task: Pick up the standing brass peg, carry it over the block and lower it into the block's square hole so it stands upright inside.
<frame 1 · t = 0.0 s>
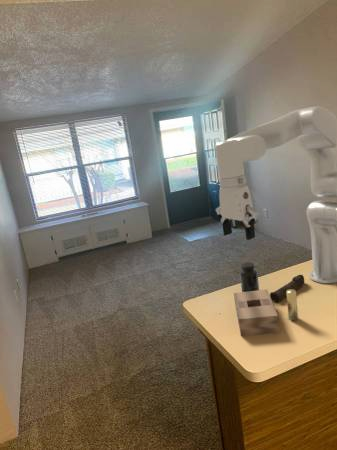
hand: (239, 236, 103), 31 cm above the table, tool pointing down, fingers open, 9 cm apart
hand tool: (288, 292, 128), on the table
peg: (293, 318, 110), on the table
supplement bottle: (250, 292, 132), on the table
hole block: (255, 319, 113), on the table
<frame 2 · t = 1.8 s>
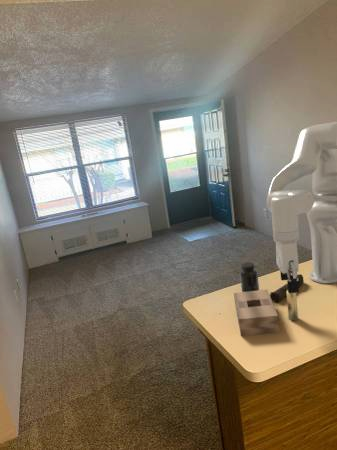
hand: (289, 285, 106), 12 cm above the table, tool pointing down, fingers open, 9 cm apart
nothing on the table moved.
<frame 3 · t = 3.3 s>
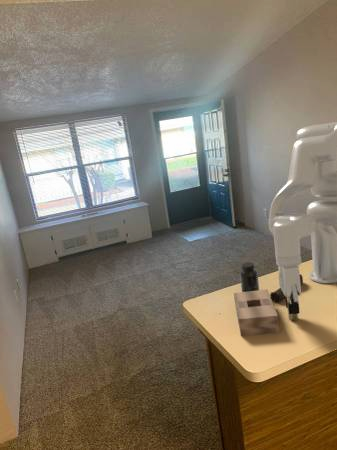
hand: (292, 310, 109), 3 cm above the table, tool pointing down, fingers closed on peg, 3 cm apart
peg: (293, 318, 110), on the table, touching gripper
everything else where it was.
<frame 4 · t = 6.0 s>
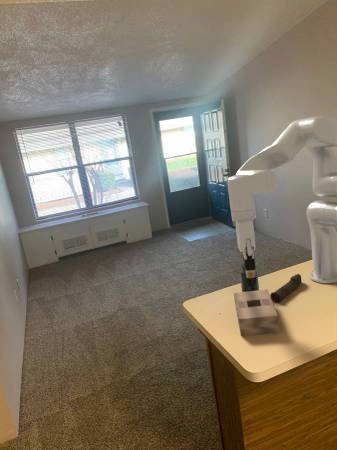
hand: (249, 267, 109), 19 cm above the table, tool pointing down, fingers closed on peg, 3 cm apart
peg: (250, 276, 109), point 16 cm above the table, touching gripper
everything else where it was.
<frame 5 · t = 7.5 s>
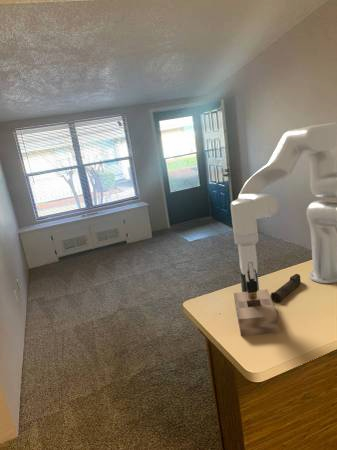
hand: (251, 289, 110), 11 cm above the table, tool pointing down, fingers closed on peg, 3 cm apart
peg: (252, 297, 111), point 8 cm above the table, touching gripper
everything else where it was.
when the fingers open (7 cm above the table, at t = 8.6 s): peg drops 3 cm, resting in hole block.
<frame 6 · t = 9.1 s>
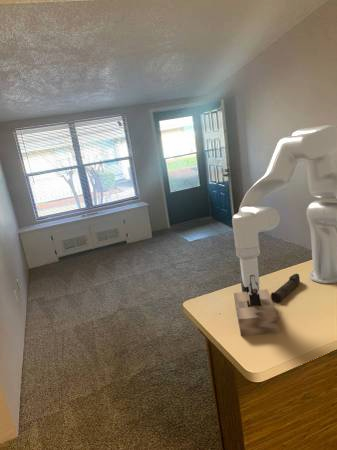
hand: (253, 298, 111), 8 cm above the table, tool pointing down, fingers open, 8 cm apart
peg: (255, 319, 113), resting in hole block
everything else where it was.
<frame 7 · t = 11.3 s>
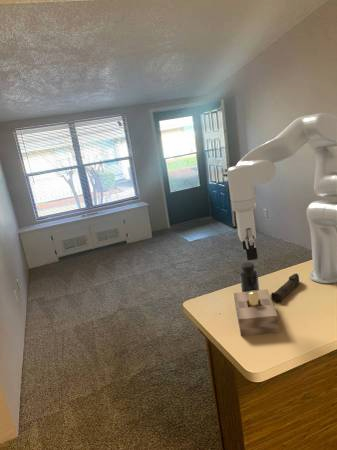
hand: (250, 253, 110), 23 cm above the table, tool pointing down, fingers open, 9 cm apart
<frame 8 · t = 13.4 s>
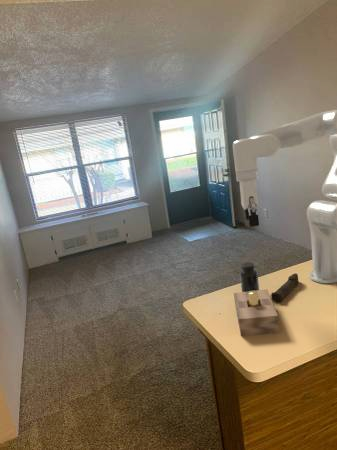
hand: (252, 222, 119), 30 cm above the table, tool pointing down, fingers open, 9 cm apart
at the end: peg 0.1 cm off-centre on the hole block, point 0.0 cm above the hole block's base; peg tilted 0°; the gripper is holding nothing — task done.
